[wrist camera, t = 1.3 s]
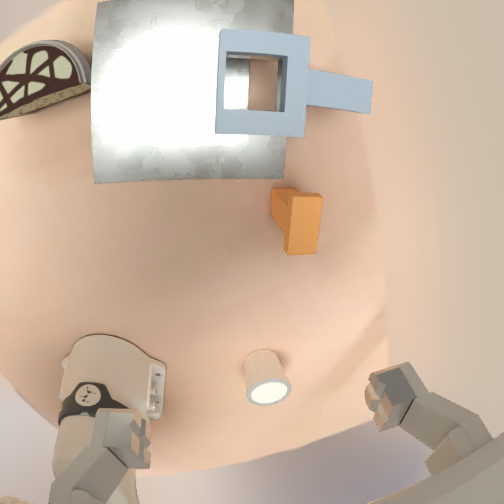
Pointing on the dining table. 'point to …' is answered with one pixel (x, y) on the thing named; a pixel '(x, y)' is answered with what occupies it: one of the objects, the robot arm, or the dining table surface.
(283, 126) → the bracket
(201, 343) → the dining table surface
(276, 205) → the orange t-shaped block
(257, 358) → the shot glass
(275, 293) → the dining table surface
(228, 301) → the dining table surface
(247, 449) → the dining table surface
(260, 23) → the metal plate
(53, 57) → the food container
